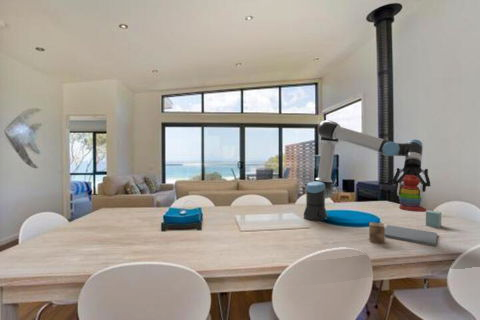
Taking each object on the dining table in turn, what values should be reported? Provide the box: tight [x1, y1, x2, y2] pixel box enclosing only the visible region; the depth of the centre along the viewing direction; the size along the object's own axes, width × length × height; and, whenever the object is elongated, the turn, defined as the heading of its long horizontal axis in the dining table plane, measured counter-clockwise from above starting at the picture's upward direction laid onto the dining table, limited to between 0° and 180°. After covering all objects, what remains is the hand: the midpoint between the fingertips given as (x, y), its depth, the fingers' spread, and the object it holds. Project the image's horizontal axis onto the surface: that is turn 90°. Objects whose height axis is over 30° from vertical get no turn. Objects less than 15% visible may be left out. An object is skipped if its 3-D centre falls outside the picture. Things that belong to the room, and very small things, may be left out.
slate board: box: [385, 224, 438, 247], centre depth 125 cm, size 22×20×1 cm
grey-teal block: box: [425, 210, 442, 228], centre depth 142 cm, size 6×6×8 cm
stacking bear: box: [398, 174, 427, 213], centre depth 124 cm, size 11×10×18 cm
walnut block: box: [368, 221, 386, 245], centre depth 117 cm, size 6×6×8 cm
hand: (409, 195), depth 121 cm, fingers closed on stacking bear, 9 cm apart
